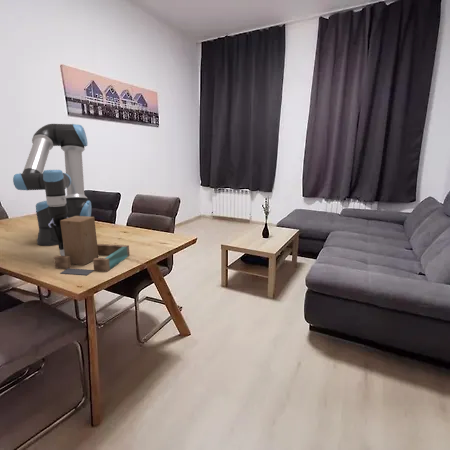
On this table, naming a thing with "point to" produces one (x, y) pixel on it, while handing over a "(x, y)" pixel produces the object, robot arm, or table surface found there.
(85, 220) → the wooden block
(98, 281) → the table surface
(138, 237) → the table surface
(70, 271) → the mat
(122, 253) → the brown u-shaped piece
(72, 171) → the robot arm
